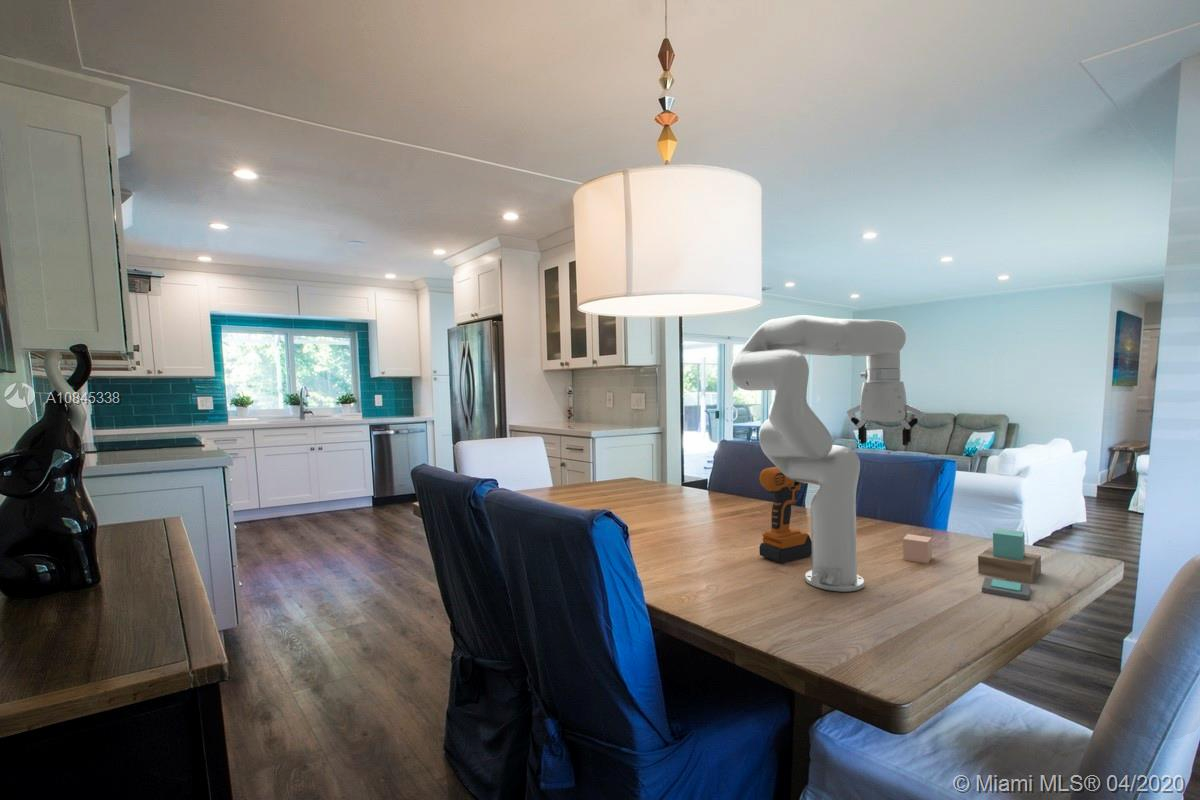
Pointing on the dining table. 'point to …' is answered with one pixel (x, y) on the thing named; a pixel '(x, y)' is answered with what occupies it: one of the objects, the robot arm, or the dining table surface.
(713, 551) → the dining table surface
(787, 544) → the power drill
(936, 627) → the dining table surface
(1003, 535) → the teal block
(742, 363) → the robot arm
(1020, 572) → the walnut block
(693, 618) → the dining table surface
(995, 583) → the tile
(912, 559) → the terracotta block
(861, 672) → the dining table surface
